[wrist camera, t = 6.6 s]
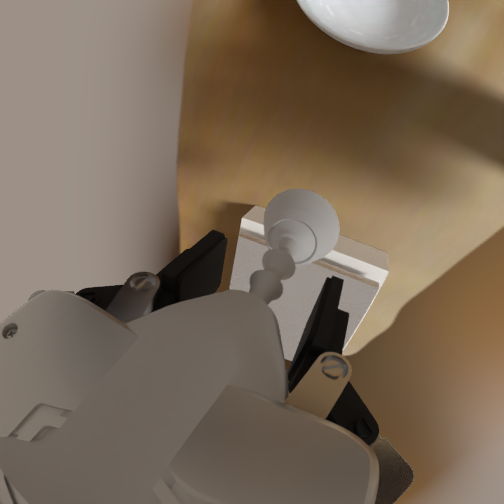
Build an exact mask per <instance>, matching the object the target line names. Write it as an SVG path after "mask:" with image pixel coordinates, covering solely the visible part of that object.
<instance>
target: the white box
mask: <svg viewBox="0 0 504 504" xmlns="http://www.w3.org/2000/svg"><path fill="white" fill-rule="evenodd" d="M268 250H269V248H268V247H267V245H266V241H265V240H263V239H261V238H258V237H255V236H252V235H250V234H247V233H244V232H242V233H241V234H240V235H239V237H238V242H237V248H236V254H235V259H234V265H233V271H232V276H231V282H230V288H229V290H230V289H231V290H242V291H245V292H248V293H249V290H250V283H249V281H250V277H251V274H253V273H254V272H255V271H258V270H264V268H263V265H262V257H263V255H264V253H265V252H266V251H268ZM332 276H336V277H338V278H341V279H343V280H344V282H343V287H342V292H341V297H340V302H339V306H338V309H340V310H343V311H345V312H348V313H349V320H348V326H347V331H346V337H345V342H344V347H345V345H346V344H347V342H348V341H349V339H350V337H351V336H352V334H353V333H354V331H355V329H356V328H357V326H358V324H359V323H360V321H361V319H362V318H363V316H364V314H365V313H366V311H367V309H368V307H369V306H370V304H371V302H372V300H373V299H374V297H375V295H376V293H377V291H378V289H379V282H376V281H373V280H371V279H368V278H365V277H363V276H360V275H358V274H355V273H352V272H350V271H347V270H344V269H342V268H339V267H336V266H334V265H331V264H328V263H326V262H323V261H320V260H317V261H314V262H312V263H310V264H307V265H304V266H296V269H295V273H294V274H293V276H292V277H291V278H289V279H287V280H281V283H282V285H283V293H282V295H281V297H280V298H278V299H277V300H274V301H271V302H270V303H269V304H268V306H269V307H270V308H271V309H272V311H273V313H274V314H275V316H276V318H277V320H278V325H279V329H280V335H281V341H282V347H283V352H284V358H285V359H288V360H290V361H292V360H293V358H294V355H295V352H296V350H297V347H298V345H299V342H300V339H301V336H302V334H303V331H304V328H305V326H306V323H307V321H308V318H309V316H310V314H311V312H312V310H313V307H314V305H315V303H316V301H317V298H318V296H319V294H320V292H321V289H322V287H323V285H324V282H325V280H326V278H327V277H329V278H331V277H332ZM344 347H343V348H344Z"/></svg>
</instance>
